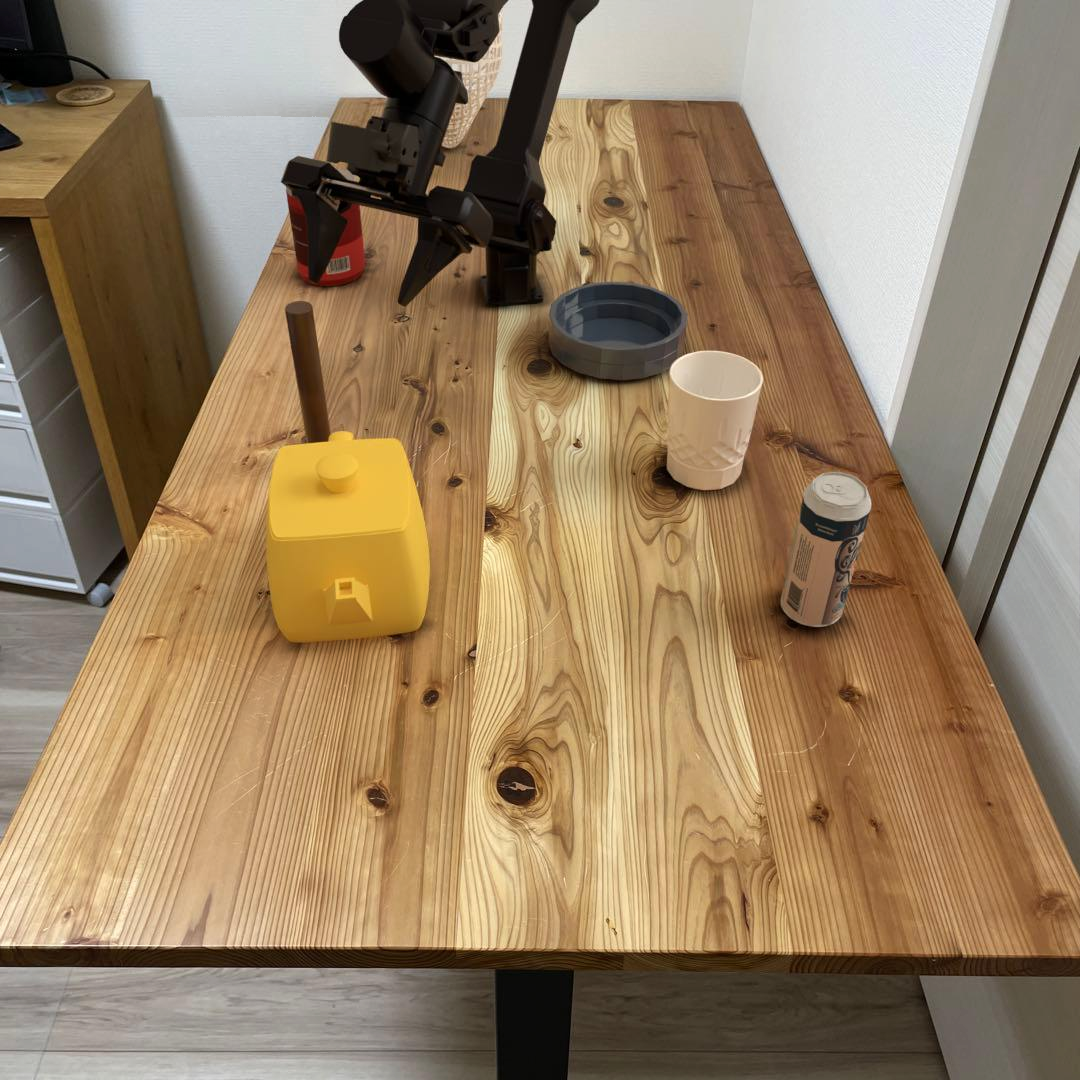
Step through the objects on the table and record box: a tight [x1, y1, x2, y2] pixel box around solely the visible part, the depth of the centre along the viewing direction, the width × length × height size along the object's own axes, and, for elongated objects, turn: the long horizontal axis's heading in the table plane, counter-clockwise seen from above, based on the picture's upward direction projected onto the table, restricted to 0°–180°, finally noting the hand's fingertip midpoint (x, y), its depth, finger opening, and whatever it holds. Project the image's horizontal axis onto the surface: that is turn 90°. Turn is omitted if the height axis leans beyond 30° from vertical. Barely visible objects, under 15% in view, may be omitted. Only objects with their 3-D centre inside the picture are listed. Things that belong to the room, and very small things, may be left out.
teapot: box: [265, 430, 431, 643], centre depth 81 cm, size 20×12×12 cm, turn 8°
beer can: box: [780, 471, 872, 628], centre depth 79 cm, size 5×5×12 cm
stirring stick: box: [284, 300, 332, 444], centre depth 92 cm, size 4×4×16 cm
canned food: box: [285, 167, 366, 287], centre depth 122 cm, size 8×8×11 cm
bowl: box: [547, 281, 688, 381], centre depth 112 cm, size 14×14×4 cm
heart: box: [434, 10, 503, 149], centre depth 148 cm, size 28×16×22 cm, turn 2°
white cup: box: [665, 350, 764, 491], centre depth 94 cm, size 8×8×10 cm
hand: (356, 293), depth 93 cm, fingers open, 9 cm apart
